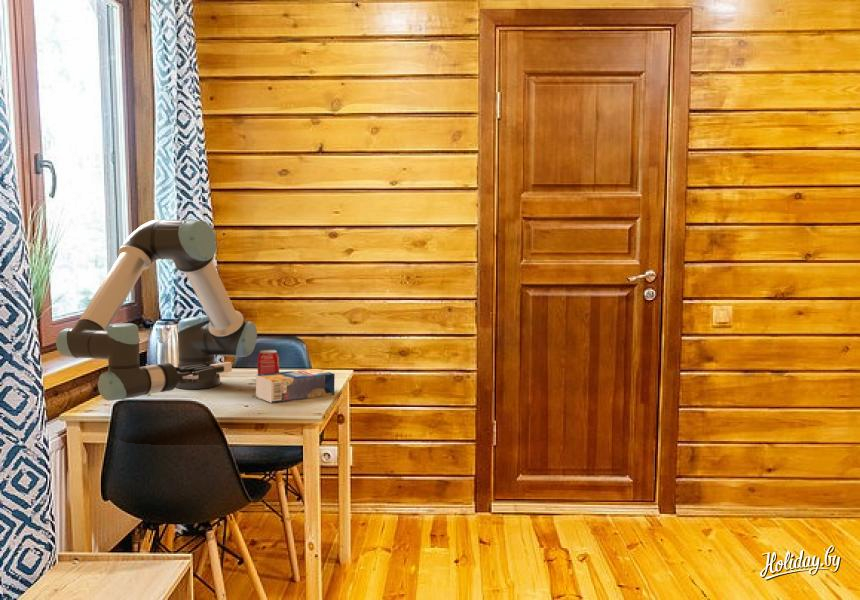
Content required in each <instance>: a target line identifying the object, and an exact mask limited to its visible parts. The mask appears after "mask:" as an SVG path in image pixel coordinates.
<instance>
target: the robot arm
mask: <svg viewBox="0 0 860 600" xmlns="http://www.w3.org/2000/svg"><path fill="white" fill-rule="evenodd" d="M216 237H217V236H216V233H215V231H214V230H213V228H212V226H211V225H210V224H208V222H205V221H203V220H197V219H192V218H191V219H153V220H150V221H148V222H146V223H143V224H142V225H140V226H139V227H138V228H136V229H135V230H134V231H133V232H131V233H130V234H129V236H128V237H127V238H126V239H125V240H124V242H123V243H122V244H121V246H120V247H119V249H118V251H117V253H118V258H117V259H116V261H115V262H114V263H113V266H112V267H111V269H110V270H109V272H108V274H106V276H105V278H104V280H103V281H102V283H100V286H99V287H98V289H97V291H96V292H95V293H94V295H93V297H92V299H91V300H90V302H89V303H88V304H87V306H86V308H85V310H84V311H83V312H82V315H80V317H79V318H78V321H77V322H76V324H75V325H74V326H73V327H68V328H64V329H62V330H61V331H59V332H58V335H57V336H56V341H55V345H56V346H55V347H56V349H57V351H58V352H59V354H60V355H62V356H63V357H64V356H65V357H68V358H74V359H79V358H81V359H96V360H107V362H108V363H107V365H108V367H107V368H108V370H107V371H105V372H102V373H101V374H100V375H99V377H98V381H97V388H98V393H99V394H100V396H101V397H102V399H104V400H105V401H108V402H109V401H119V400H125V399H130V398H135V397H136V398H137V397H141V396H147V397H151V394H157V393H165V392H168V391H169V392H170V391H173V390H175V389H176V388H177V389H185V390H200V389H202V390H203V389H208V388H209V389H210V388H215V387H218V386H219V385H220V384H221V375H220V374H224V373H231V372H232V369H233V368H232V364H233V363H232V361H225V362H219V363H216V359H215V357H216V356H221V357H222V356H223V357H235V358H239V357H241V358H242V357H243V358H244V357H249V356H250V355H251V354H252V352H254V349H255V346H256V344H257V338H258V329H257V325H256V324H255V323H254V322H252V321H246V320H245V318H244V315H243V314H242V313H241V311H238V310H235V307H234V305H233V303H232V301H231V299H230V297H229V296H230V295H228V292H227V290H226V288H225V285H224V283H223V281H222V279H221V278H220V277H221V276H220V275H219V272H218V271H217V269H216V267H215V263H214V262H213V260H214V259H215V254H216V252H217V248H218V247H217V246H218V244H217V242H216V241H217V238H216ZM157 260H171V261H173V263H174V265H175V267H176V269H177V270H178V271H180V272H181V273H184V274H185V275H186V277H187V279H188V280H189V281H188V282H189V283H190V285H191V287H192V289H193V291H194V293H195V295H196V297H197V299H198V301H199V303H200V305H201V306H202V308H203V311H204V312H205V314H206V315H201V316H200V315H198V316H192V317H185V318H181V319H180V320H179V321H178V323H177V332H176V333H177V354H178V357H177V358H178V360H177V361H178V363H177V366H175V365H174V364H173V363H170V362H166V363H158V364H150V365H145V366H140V342H141V341H140V335H139V327H138V325H137V324H134V323H132V322H120V323H119V322H117V323H113V322H114V320H115V318H116V317H117V316H118V313H119V311H120V310H121V308H122V306H123V305H124V303H125V302H126V300H127V298H128V297H129V295H130V293H131V291H132V290H133V289H134V287H135V285H136V283H137V281H138V280H139V278H140V277H141V275H142V273H143V272H144V270H148V269H149V268H151V265H152V264H153V263H154V262H155V261H157Z"/></svg>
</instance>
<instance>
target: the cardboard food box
mask: <svg viewBox="0 0 860 600" xmlns="http://www.w3.org/2000/svg"><path fill="white" fill-rule="evenodd" d="M335 379H336V377H335V373H333V372H330V371H326V370H323V369H320V368H312V369H300V370H294V371H293V370H291V371H281V372H280V371H279V373H270V374H260V375H258V374H256V375H255V395H256V397H259V398H261V399H260V400H262V399H263V401H266V402H268V403H271V404H273V403H275V402H279V403H283V402H288V401H289V402H290V401H298V400H304V399H305V400H306V399H313V397H314V398H319V397H318V396H322V397H327V396H326V395H330V396H334V395H335Z"/></svg>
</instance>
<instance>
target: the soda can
mask: <svg viewBox="0 0 860 600" xmlns="http://www.w3.org/2000/svg"><path fill="white" fill-rule="evenodd" d="M279 372H280V357H279V354H278V351H277V350H276V349H264V350H260V351H259V354H258V356H257V375H260V374H270V373H279Z"/></svg>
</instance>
